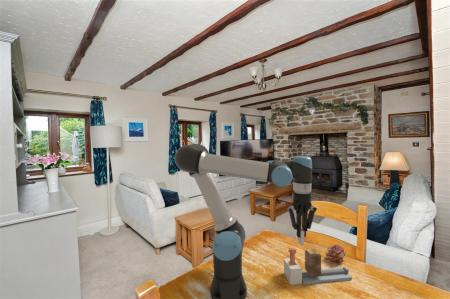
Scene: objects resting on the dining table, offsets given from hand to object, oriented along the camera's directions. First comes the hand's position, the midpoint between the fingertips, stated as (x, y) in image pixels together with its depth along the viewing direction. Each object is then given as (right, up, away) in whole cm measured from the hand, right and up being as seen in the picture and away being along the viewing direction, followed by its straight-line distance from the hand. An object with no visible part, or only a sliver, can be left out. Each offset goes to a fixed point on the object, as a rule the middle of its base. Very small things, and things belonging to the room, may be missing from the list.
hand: (301, 243), depth 95 cm
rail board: (+11, -15, +1) cm, 19 cm away
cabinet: (-3, -16, +1) cm, 16 cm away
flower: (+22, -15, +13) cm, 30 cm away
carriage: (+6, -13, +1) cm, 14 cm away
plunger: (-4, -9, +1) cm, 9 cm away
